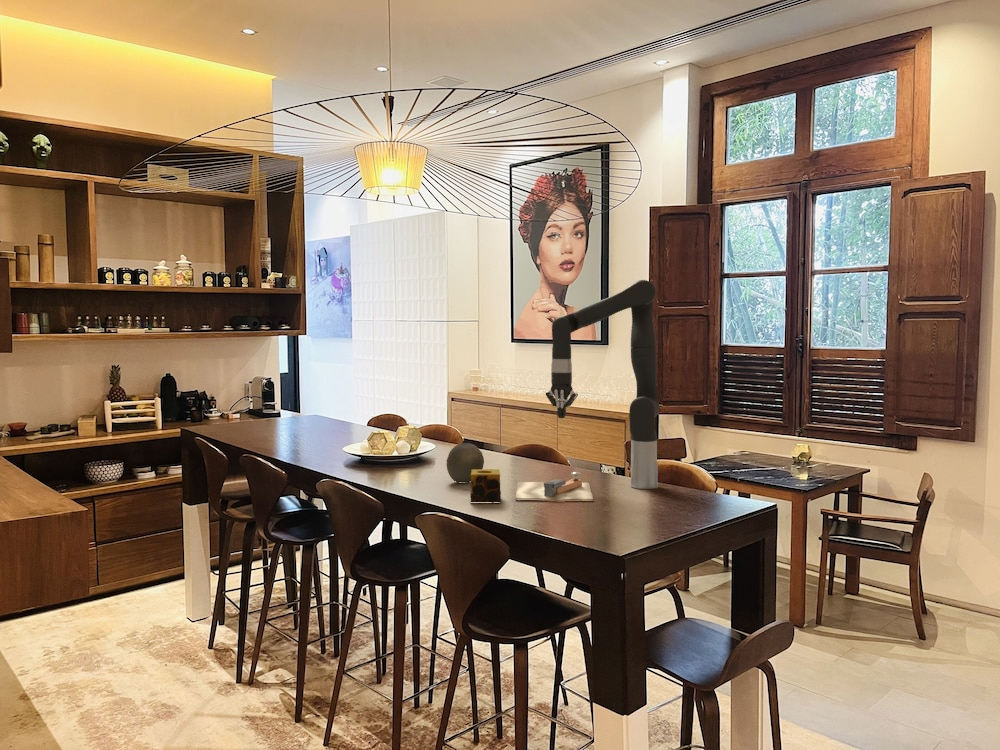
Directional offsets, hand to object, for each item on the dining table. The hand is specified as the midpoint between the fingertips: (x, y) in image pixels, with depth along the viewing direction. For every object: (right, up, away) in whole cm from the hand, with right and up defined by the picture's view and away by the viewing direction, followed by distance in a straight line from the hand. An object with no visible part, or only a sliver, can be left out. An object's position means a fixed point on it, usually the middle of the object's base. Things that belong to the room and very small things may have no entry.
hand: (561, 418), depth 282 cm
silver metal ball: (+5, -22, -7) cm, 23 cm away
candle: (-28, -27, -25) cm, 46 cm away
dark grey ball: (-36, -25, +5) cm, 44 cm away
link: (+1, -24, -13) cm, 27 cm away
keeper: (-4, -25, -20) cm, 32 cm away
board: (-4, -26, -12) cm, 29 cm away
